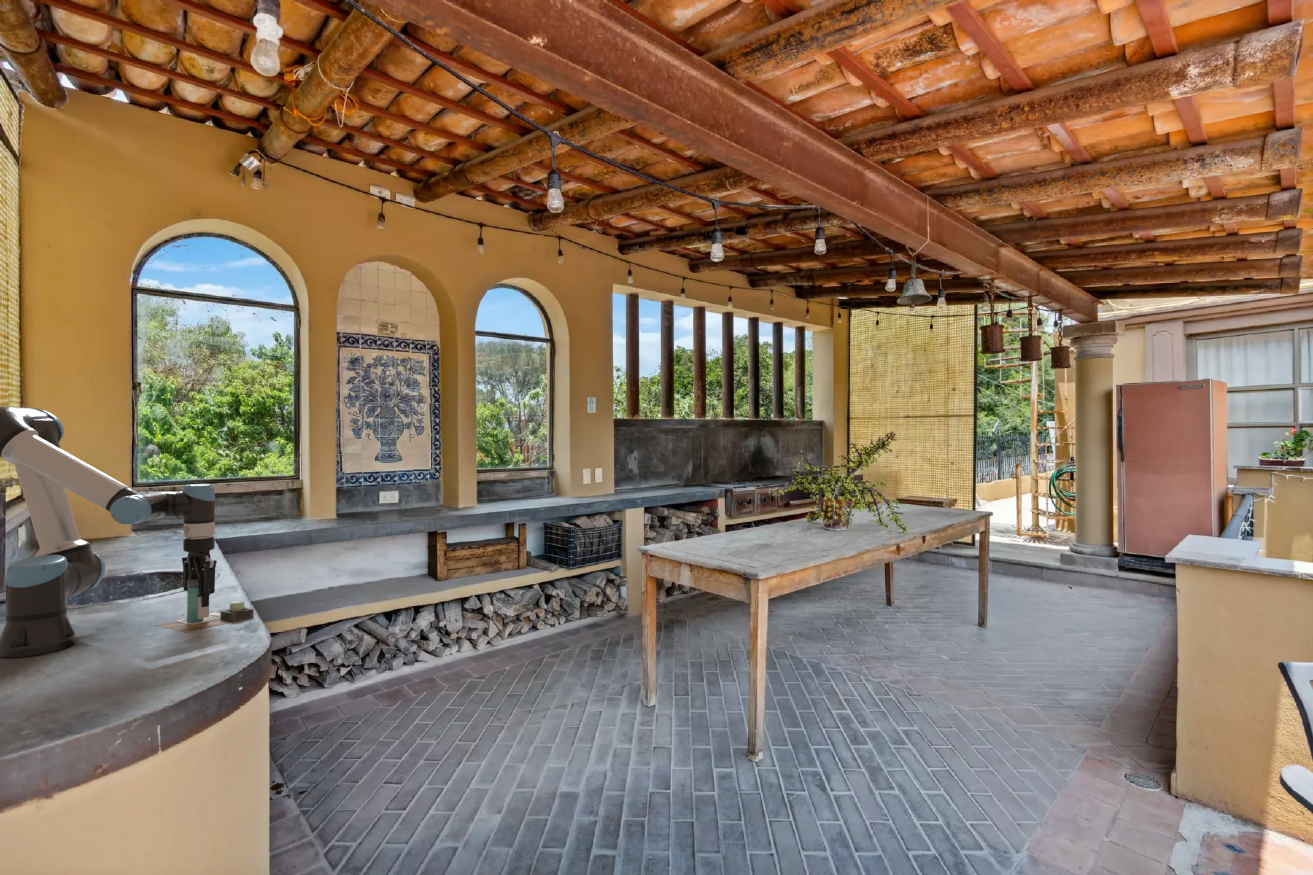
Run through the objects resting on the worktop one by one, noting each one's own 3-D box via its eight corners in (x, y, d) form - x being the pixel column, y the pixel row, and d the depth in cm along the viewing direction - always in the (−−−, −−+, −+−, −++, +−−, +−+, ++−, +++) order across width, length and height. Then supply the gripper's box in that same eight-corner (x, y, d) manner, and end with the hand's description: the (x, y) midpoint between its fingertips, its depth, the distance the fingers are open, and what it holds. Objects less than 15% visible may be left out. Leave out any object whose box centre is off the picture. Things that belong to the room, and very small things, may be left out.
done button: (227, 612, 193) (227, 603, 193) (239, 609, 196) (239, 600, 196) (234, 614, 191) (234, 604, 191) (246, 611, 194) (246, 601, 194)
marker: (183, 622, 188) (184, 581, 188) (190, 618, 192) (191, 578, 192) (199, 622, 188) (201, 580, 189) (206, 618, 193) (207, 577, 193)
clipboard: (156, 629, 186) (156, 616, 186) (222, 614, 202) (222, 602, 202) (187, 637, 179) (187, 624, 179) (253, 620, 195) (253, 608, 195)
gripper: (168, 536, 191) (168, 615, 191) (202, 541, 184) (201, 623, 184) (196, 532, 198) (195, 609, 198) (229, 537, 190) (229, 617, 190)
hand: (198, 616), depth 191 cm, fingers closed on marker, 4 cm apart
